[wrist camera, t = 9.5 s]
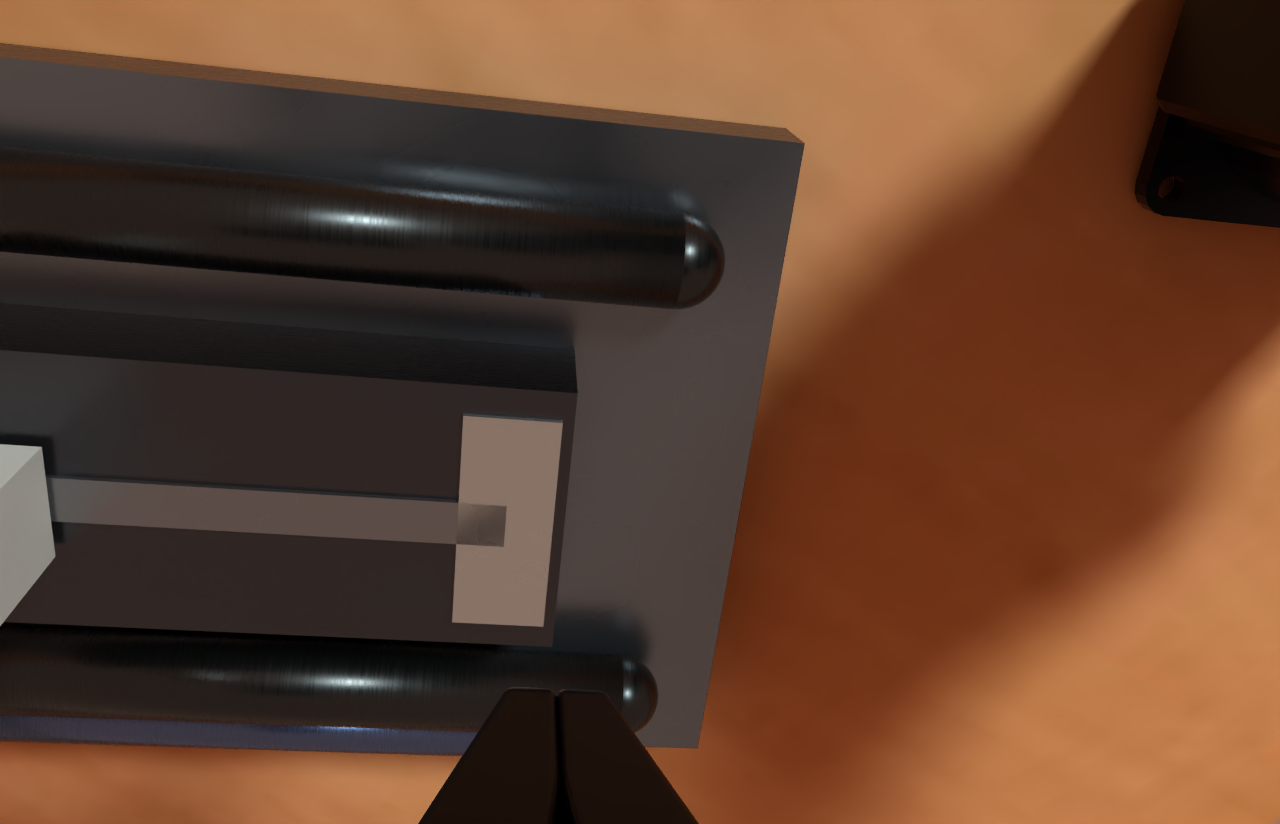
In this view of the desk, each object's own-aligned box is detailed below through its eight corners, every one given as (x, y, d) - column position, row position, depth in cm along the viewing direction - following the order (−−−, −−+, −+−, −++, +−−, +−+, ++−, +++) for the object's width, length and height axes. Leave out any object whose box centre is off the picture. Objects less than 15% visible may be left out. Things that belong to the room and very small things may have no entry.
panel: (786, 127, 19) (836, 168, 16) (689, 702, 24) (711, 822, 21) (-311, 9, 17) (-518, 27, 13) (-158, 669, 22) (-281, 796, 19)
